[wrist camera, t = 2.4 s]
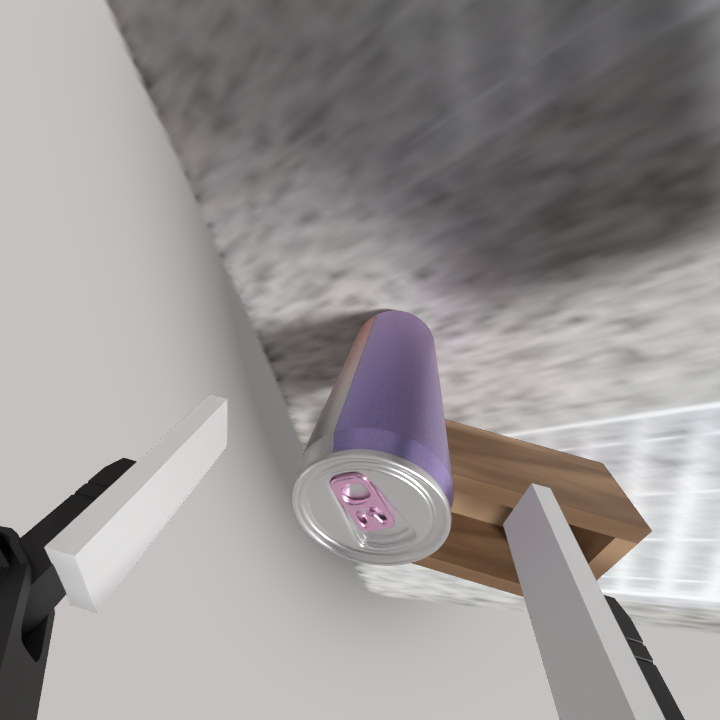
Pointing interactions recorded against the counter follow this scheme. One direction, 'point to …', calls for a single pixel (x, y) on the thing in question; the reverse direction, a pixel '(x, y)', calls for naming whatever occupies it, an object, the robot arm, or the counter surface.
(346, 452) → the beverage can
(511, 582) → the tray
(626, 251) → the counter surface
